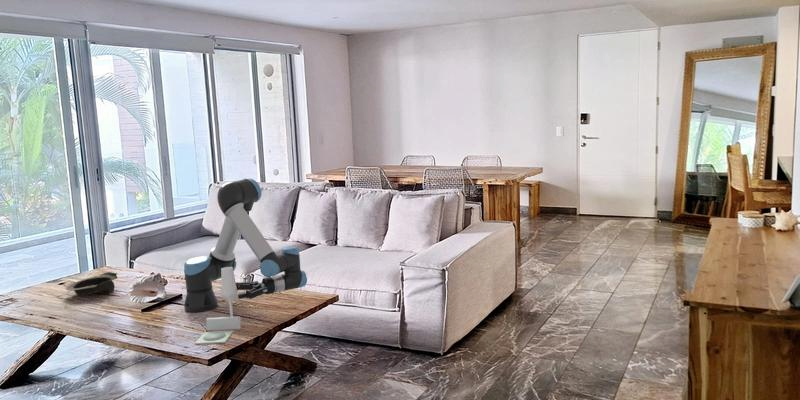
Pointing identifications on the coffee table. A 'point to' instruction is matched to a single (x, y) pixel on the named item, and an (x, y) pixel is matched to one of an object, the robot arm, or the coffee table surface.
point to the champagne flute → (228, 285)
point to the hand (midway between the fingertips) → (225, 294)
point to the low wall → (223, 323)
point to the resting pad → (214, 337)
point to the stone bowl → (94, 284)
